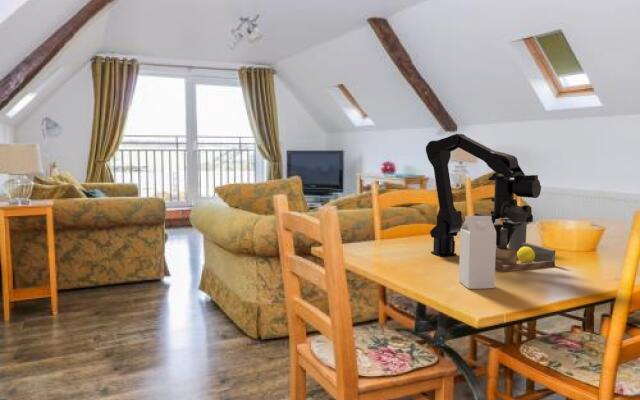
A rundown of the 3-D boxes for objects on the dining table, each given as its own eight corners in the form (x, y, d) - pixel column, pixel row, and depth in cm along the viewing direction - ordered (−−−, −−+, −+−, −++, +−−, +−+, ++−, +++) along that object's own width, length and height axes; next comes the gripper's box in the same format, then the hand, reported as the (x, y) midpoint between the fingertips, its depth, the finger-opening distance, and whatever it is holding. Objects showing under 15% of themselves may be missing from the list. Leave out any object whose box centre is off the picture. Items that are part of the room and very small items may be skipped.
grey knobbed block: (505, 268, 153) (507, 232, 152) (486, 261, 162) (487, 227, 161) (516, 267, 155) (518, 231, 154) (496, 260, 163) (498, 226, 162)
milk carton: (458, 282, 139) (460, 214, 137) (483, 281, 140) (485, 214, 138) (468, 289, 132) (470, 218, 130) (494, 288, 133) (497, 217, 131)
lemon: (535, 267, 158) (536, 251, 157) (517, 266, 160) (518, 250, 158) (533, 259, 165) (534, 244, 163) (515, 258, 166) (516, 243, 165)
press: (500, 271, 150) (500, 255, 150) (472, 262, 162) (473, 247, 162) (554, 265, 158) (555, 250, 157) (524, 257, 170) (525, 242, 169)
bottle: (525, 248, 185) (526, 207, 183) (526, 251, 179) (527, 209, 177) (508, 247, 187) (509, 207, 185) (508, 250, 181) (510, 208, 179)
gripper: (496, 199, 145) (494, 252, 147) (547, 197, 152) (544, 247, 153) (472, 195, 156) (470, 245, 157) (521, 193, 162) (518, 241, 164)
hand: (501, 245), depth 158 cm, fingers closed on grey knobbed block, 3 cm apart
